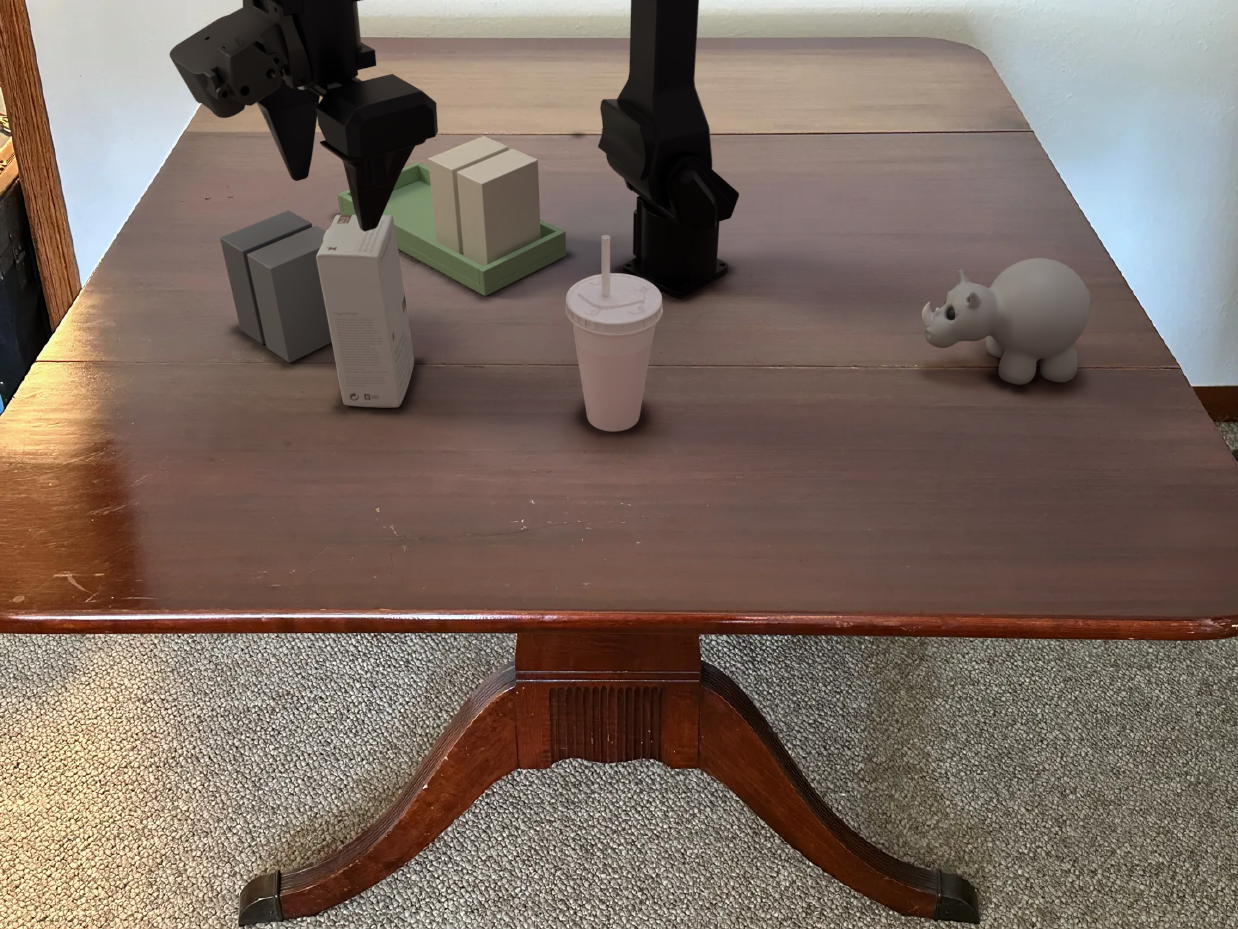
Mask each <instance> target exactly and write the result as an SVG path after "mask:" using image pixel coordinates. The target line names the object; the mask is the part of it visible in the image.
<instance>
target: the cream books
mask: <svg viewBox="0 0 1238 929" xmlns="http://www.w3.org/2000/svg"><path fill="white" fill-rule="evenodd" d="M427 162H428V166H429V173H430V183H431V193H432V204H433V214H434V224H435V234H436V241H437V242H439V243H440V244H442V245H444V246H446V247H448V248H450V249H452V250H454V251H456V252H458V253H459V254H461V255H463V256H465V257H467V258H469V259H471V260H473V261H475V262H477V263H478V264H480V265H482V266H486V265H488V264H490V263H492V262H494V261H496V260H498V259H500V258H502V257H504V256H506V255H508V254H510V253H513V252H515V251H517V250H519V249H521V248H523V247H525V246H527V245H529V244H531V243H533V242H535V241H537V240H539V239H541V230H540V219H541V206H540V180H539V178H540V177H539V159H537V158H535V157H533V156H530V155H528V154H526V153H523V152H521V151H519V150H517V149H514V148H511V149H509V146H508V145H506V144H504V143H501V142H499V141H497V140H494V139H491V138H490V137H487V136H485V135H483V136H480V137H478V138H475V139H472V140H470V141H467V142H466V143H463V144H461V145H458V146H456V147H453V148H451V149H448V150H446V151H443V152H441V153H438V154H436V155H433V156H431V157H428V158H427Z"/></svg>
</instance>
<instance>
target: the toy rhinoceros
mask: <svg viewBox="0 0 1238 929" xmlns="http://www.w3.org/2000/svg"><path fill="white" fill-rule="evenodd" d="M958 279H959V280H958V282H957V284H956V286H955V287H953V289H951V290H949V291H948V292H947V295H946V300H945V301H944V303H943V305H942V307H940V308H939V307H936V308H935V311H933V312H932V311H931V301H928V302H927V303H926V304H925V305H924V307H923V309H922V311H921V319H922V322H923V326H922V327H923V328H922V332H923V337H924V338H925V340H926V342H927V343H928V344H930V345H931V346H933V347H935V348H939V349H946V348H951V347H952V346H954V345H955V344H958V343H959V342H978V341H981V340H983V339H985V350H986V351H987V353H989V354H990V355H991V356H993V357H995V358H998V359H1000V360H999V365H998V376H999V377H1000V379H1002V380H1003V381H1005V382H1007V383H1009V384H1012V385H1025V384H1028V383H1029V382H1031V381H1032V380H1033V379H1034V377H1035V375H1036V371H1037V362H1038V361H1039V360H1040V362H1039V374H1040V375H1041V377H1042V378H1044V379H1046V380H1047V381H1050V382H1054V383H1066V382H1069V381H1071V380H1072V379H1073V378H1075V376H1076V374H1077V373H1078V372H1077V371H1078V366H1079V358H1078V353H1077V350H1076V342H1077V341H1078V340H1079V338H1080V337H1081V336H1082V334H1083V333H1084V331H1085V329H1086V326H1087V324H1088V322H1089V318H1090V311H1091V306H1092V304H1093V296H1092V294H1091V292H1090V290H1089V289H1088V288H1087V286H1086V284H1085V283H1084V281H1083V279H1082V277H1080V276H1079V274H1078V273H1077V272H1076V271H1075V270H1073V269H1072V268H1071V267H1070V266H1068V265H1066V264H1065V263H1062V262H1060V261H1058V260H1055V259H1051V258H1046V257H1033V258H1026V259H1023V260H1021V261H1018V262H1015V263H1013V264H1012V265H1010V266H1008V267H1007V268H1005V269H1004V270H1003V271H1002V272H1000V273H999V274H998V275H997V276H996V278H995V279H994V281H993V282H992V284H991V285H990V286H989V287H988V286H985V285H983V284H980V283H976V282H972V281H971V280H970V278H969V276H968V274H967V272H966V271H965V270H964V269H961V268H960V269H959V270H958Z"/></svg>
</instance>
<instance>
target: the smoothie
mask: <svg viewBox="0 0 1238 929" xmlns="http://www.w3.org/2000/svg"><path fill="white" fill-rule="evenodd" d="M600 238H601V239H600V240H601V241H600V242H601V244H600V245H601V246H600V247H601V250H600V252H601V255H600V258H601V261H600V262H601V267H600V268H601V269H600V270H601V272H600V274H595V275H591V276H588V277H585V278H583V279H580V280H579V281H577V282H575V283H574V284H573V285H572V286H571V287H570V288H569V289H568V291H567V292H566V296H565V314H566V316H567V318H568V320H569V321H570V322H571V324H572V326H571V327H572V333H573V338H574V344H575V349H576V351H575V352H576V357H577V362H578V369H579V376H580V382H581V386H582V387H581V388H582V393H583V394H582V395H583V400H584V401H583V402H584V407H585V412H586V413H585V414H586V418H587V421H588V422H589V424H590V425H591V426H593V427H594V428H596V429H598V430H601V431H604V432H622V431H626V430H629V429H631V428H632V427H634V426H635V425H636V424H637V423H638V422H639V420H640V416H641V409H642V405H643V398H644V393H645V388H646V387H645V386H646V381H647V375H648V370H649V364H650V359H651V352H652V348H653V342H654V337H655V330H656V324H657V322H659V321H660V319H661V318H662V315H663V314H664V310H663V296H662V293H661V291H660V289H658V288H657V287H656V286H654V285H653V284H652V283H651V282H649V281H647V280H645V279H643V278H640V277H637V276H633V275H629V274H627V273H618V272H614V273H613V272H611V236H610V235H609V234H603V235H602V236H600Z"/></svg>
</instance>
